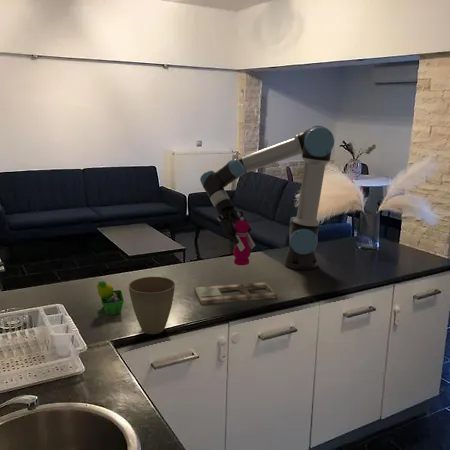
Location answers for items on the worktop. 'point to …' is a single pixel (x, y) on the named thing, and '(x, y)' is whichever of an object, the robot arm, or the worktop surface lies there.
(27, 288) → the worktop surface
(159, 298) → the plant pot
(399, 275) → the worktop surface
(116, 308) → the fruit basket
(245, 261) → the pepper mill
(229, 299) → the board
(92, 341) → the worktop surface
